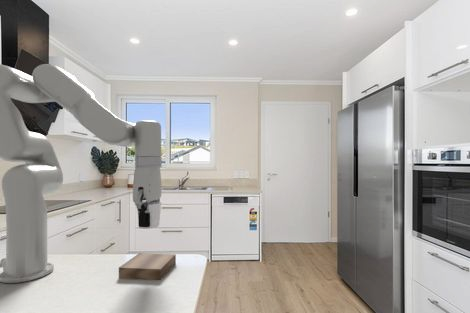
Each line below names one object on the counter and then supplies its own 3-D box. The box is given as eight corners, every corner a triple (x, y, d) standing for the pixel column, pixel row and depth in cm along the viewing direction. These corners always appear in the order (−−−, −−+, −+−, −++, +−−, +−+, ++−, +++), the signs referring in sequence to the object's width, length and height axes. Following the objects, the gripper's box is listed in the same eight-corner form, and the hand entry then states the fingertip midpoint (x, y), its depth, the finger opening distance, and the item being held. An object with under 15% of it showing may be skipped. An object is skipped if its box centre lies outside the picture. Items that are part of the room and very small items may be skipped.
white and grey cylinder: (154, 229, 78) (154, 204, 78) (132, 228, 79) (131, 204, 79) (165, 224, 84) (165, 201, 85) (144, 223, 86) (144, 200, 86)
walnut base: (118, 278, 76) (118, 267, 76) (139, 262, 88) (139, 253, 88) (160, 280, 75) (160, 269, 75) (175, 264, 87) (175, 254, 87)
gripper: (148, 162, 91) (149, 218, 91) (121, 163, 74) (121, 231, 74) (170, 162, 90) (171, 218, 90) (147, 163, 73) (148, 232, 73)
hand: (149, 223), depth 82 cm, fingers closed on white and grey cylinder, 5 cm apart
